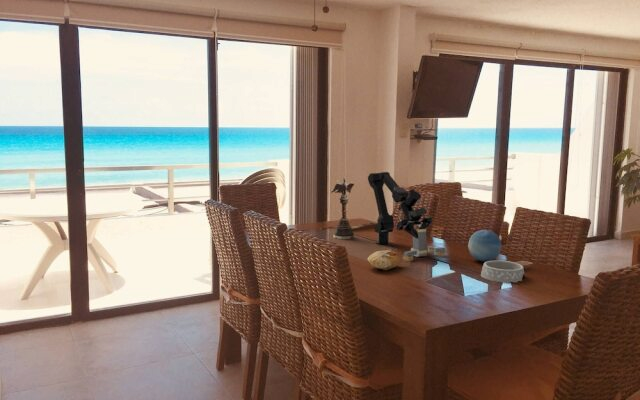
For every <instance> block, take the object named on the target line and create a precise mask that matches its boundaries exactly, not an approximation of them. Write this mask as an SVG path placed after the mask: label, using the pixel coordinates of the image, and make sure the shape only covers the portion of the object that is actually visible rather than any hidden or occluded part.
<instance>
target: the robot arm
mask: <svg viewBox="0 0 640 400" xmlns="http://www.w3.org/2000/svg"><path fill="white" fill-rule="evenodd" d="M390 174H391V173H390V172H388V171H381V172H371V173H369V174H368V176H367V182H368V183H369V186H370V188H371V189H372V190H373V193H374V198H375V203H376V206H377V207H376V208H377V212H378V217H377V220H376V221H377V224H376V226H374V233H377V234H378V236H377V237H378V238H377V240H378V241H376V242H375V244H377V245H387V246H388V245H389V244H391V243H392V241H390V233H393V231H394V228H395V227H396V229H397V231H404V232H406V233H408V234H409V235H410V236H412V237H413V236H414V237H415V238H416V239H417V238H418V236H417V234H416V231H415V229H416V228H415V227H414V226H418V229H426V230H427V228H429V227H430V226H431V224H432V223H433V222H434V221H433V218H432V217H431V216H426V217H423V218H422V216H425V215H426V214H427V209H426V207H421V208H416V209H415V208H414V207H416V205H417V204H418V202H419V201H420V199H421V197H422V195H421V194H420V193H419V192H418V191H417V190H415V189H414V188H412V189H411V188H410V189H409V191H408V190H406V189H404V188H402V187H400V185H398V183H397V182H396V181H395V179H394V178H393V177H392V175H390ZM384 185H385V186H386V187H387V189H388V190H389V191H390V193H391V197H392V200H393V201H394V202H395V203H396V204H399V203H400V204H399V205H398V208H397V209H398V211H401V212H402V213H403V214H402V215H403V219H400V220H398V222H397V224H396V225H395V221H394V216H393V214H390V213H389V211H388V207H387V206H388V205H387V203H386V197H385V192H384ZM420 219H421V220H420Z"/></svg>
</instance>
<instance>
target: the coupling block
mask: <svg viewBox="0 0 640 400" xmlns="http://www.w3.org/2000/svg"><path fill="white" fill-rule="evenodd" d="M414 229H415V231H416V234H417V236H418V238H417V239H416V238H415V237H414V236H412V248H415V249H418V250H419V256H418V257H426V256H428V247H427V228H426V229H419V228H414Z"/></svg>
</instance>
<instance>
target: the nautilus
mask: <svg viewBox="0 0 640 400" xmlns="http://www.w3.org/2000/svg"><path fill="white" fill-rule="evenodd" d="M405 254H406V253H405ZM403 256H404V253H401V252H397V251H393V250H388V249H387V250H386V249H385V250H378V251H375V252H373V253H372V254H370V255H369V256H368V257H367V261H368V262H369V264H370V266H372V267H375V268H377V269H381V270H383V271H388V270H390V269H393V268H396V267H400V266H401V267H403V268H405V266H406V263H410V261H409V260H408V261H406V260H405V259H404V260H401V257H403ZM405 257H406V255H405ZM409 257H410V256H409ZM403 263H404V264H403Z"/></svg>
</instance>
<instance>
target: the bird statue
mask: <svg viewBox="0 0 640 400" xmlns="http://www.w3.org/2000/svg"><path fill="white" fill-rule="evenodd" d="M354 186H355V182H349V183H348V182H347V178H346V177H343V183H340V182H339V180H338V179H337V180H336V184H335V185H334V188H333V189H331V190H330V194H332V193H335V194H337V193H338V194H341V196H340V198H339V202H340V204H341V211H340V212H341V215H342V216H341V218H340V219H339V220H340V221H339V222H338V225H337V226H336V228H335V232H334V234H333V238H334V239H335V238H337V239H336V240H351V239H354V238H355V234H354V232H353V229H352V227H351V225H350V222H349V218H347V204H348V203H349V197H348V195H347V192H348V193H349V194H351V191H352V188H353V187H354Z"/></svg>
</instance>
